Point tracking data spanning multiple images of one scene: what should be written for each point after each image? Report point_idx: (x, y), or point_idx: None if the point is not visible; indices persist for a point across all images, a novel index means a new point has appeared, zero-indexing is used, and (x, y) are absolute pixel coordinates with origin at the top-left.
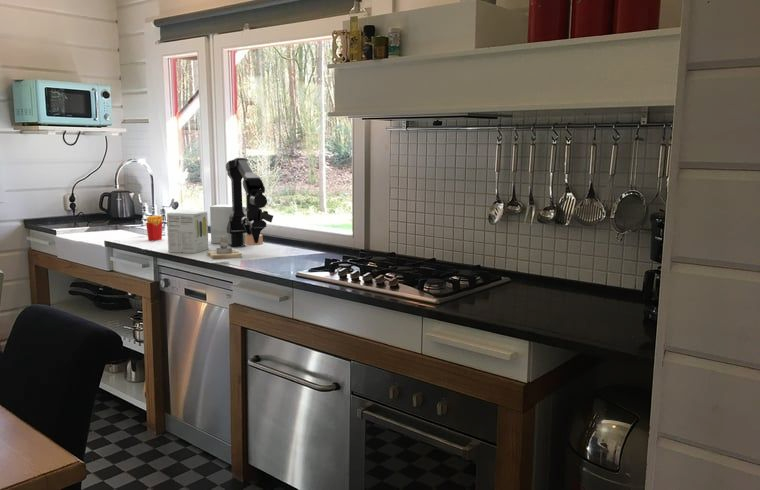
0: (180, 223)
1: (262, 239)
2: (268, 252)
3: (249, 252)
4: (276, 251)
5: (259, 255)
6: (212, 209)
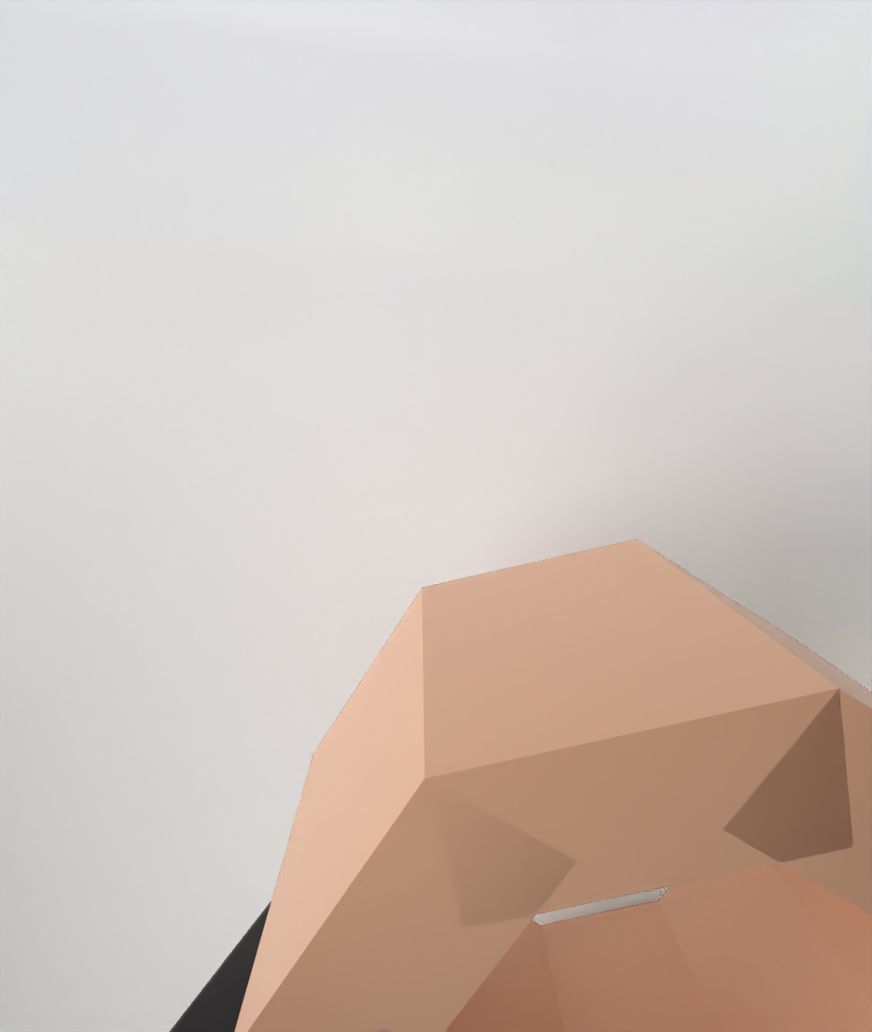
0: None
1: (730, 603)
2: (377, 348)
3: (310, 736)
4: (258, 131)
5: (724, 564)
6: None
